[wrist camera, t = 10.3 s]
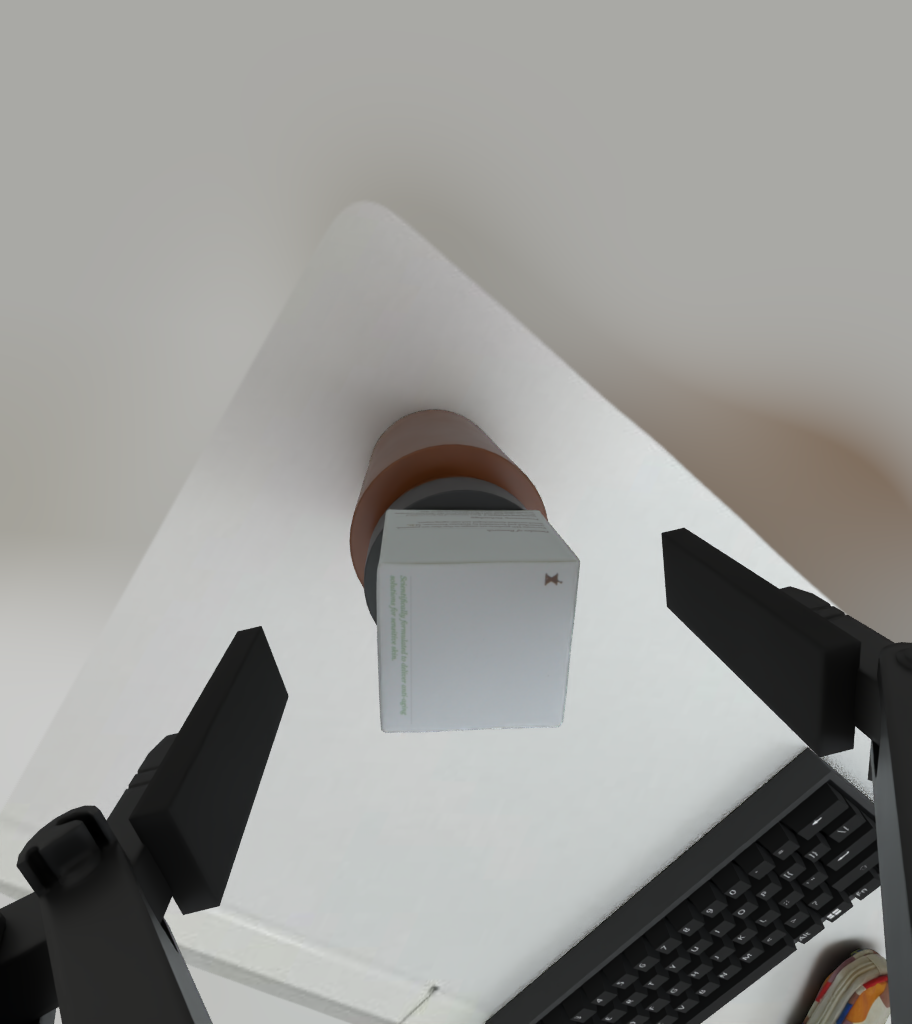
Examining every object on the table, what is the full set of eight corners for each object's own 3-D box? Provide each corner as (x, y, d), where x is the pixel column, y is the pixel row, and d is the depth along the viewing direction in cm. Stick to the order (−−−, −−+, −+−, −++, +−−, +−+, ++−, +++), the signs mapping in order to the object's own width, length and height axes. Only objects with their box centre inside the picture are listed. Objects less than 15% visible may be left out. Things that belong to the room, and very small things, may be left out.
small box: (382, 505, 17) (374, 562, 13) (542, 505, 18) (590, 559, 13) (384, 647, 19) (377, 742, 15) (530, 643, 20) (569, 733, 15)
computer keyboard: (585, 1066, 58) (597, 1114, 55) (485, 1022, 54) (491, 1071, 50) (895, 821, 51) (933, 858, 47) (808, 747, 46) (842, 781, 43)
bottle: (353, 425, 33) (307, 497, 17) (485, 396, 33) (561, 439, 17) (386, 548, 36) (373, 707, 20) (508, 520, 36) (591, 655, 20)
